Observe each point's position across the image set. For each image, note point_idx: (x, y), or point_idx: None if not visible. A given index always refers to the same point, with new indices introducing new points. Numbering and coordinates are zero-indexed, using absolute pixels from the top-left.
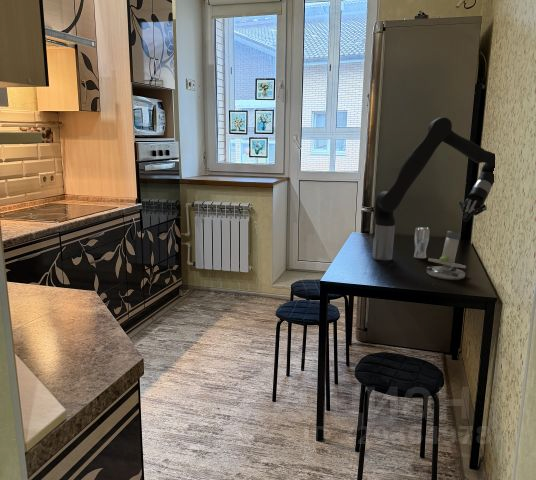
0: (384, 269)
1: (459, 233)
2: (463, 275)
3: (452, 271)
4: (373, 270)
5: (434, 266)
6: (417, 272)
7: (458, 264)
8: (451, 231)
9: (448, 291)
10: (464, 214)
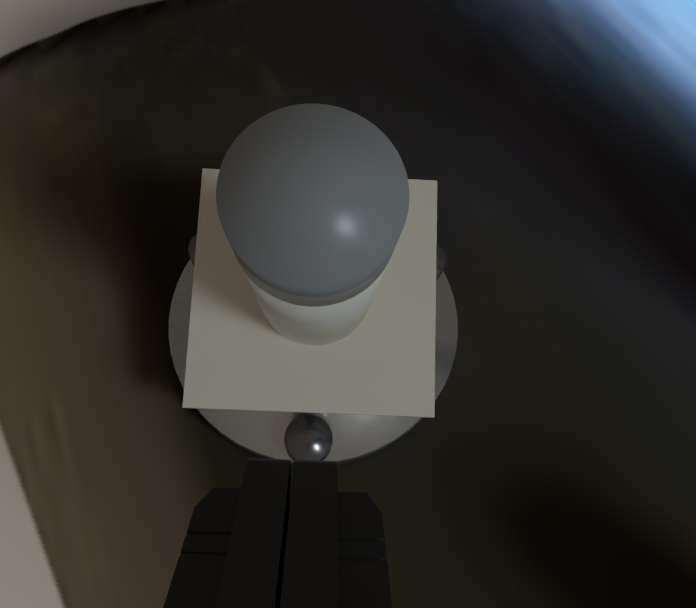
0: (642, 137)
1: (220, 172)
2: (169, 314)
3: None
4: (659, 79)
5: (445, 374)
6: (473, 227)
7: (197, 248)
8: (316, 104)
9: (153, 40)
10: (371, 598)
